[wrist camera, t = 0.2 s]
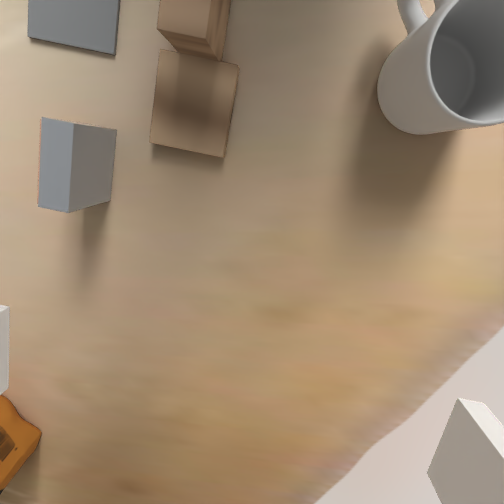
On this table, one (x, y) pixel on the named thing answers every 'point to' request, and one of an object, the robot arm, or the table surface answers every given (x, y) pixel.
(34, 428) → the coffee package
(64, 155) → the tile
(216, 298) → the table surface
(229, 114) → the stepped wooden block
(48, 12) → the pad
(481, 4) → the mug
